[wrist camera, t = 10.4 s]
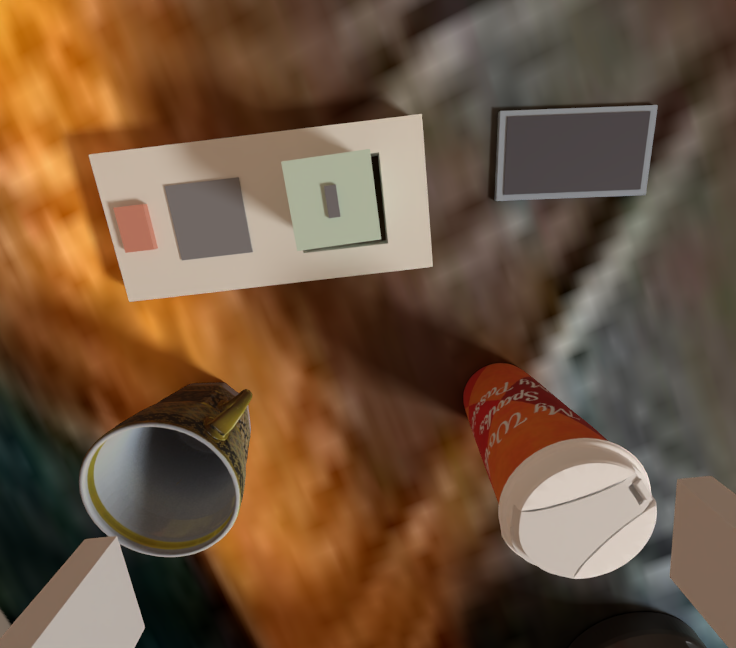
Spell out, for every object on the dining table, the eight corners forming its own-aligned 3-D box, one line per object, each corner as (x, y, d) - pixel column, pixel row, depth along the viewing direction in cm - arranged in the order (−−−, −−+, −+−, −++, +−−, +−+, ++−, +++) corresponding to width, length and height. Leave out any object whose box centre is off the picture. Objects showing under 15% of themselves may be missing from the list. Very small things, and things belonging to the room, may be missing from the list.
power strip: (427, 261, 33) (434, 268, 30) (145, 294, 34) (124, 303, 31) (417, 120, 30) (423, 112, 27) (109, 157, 31) (82, 153, 28)
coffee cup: (513, 330, 35) (621, 423, 20) (563, 403, 37) (694, 536, 22) (428, 387, 36) (473, 513, 22) (481, 455, 38) (554, 612, 24)
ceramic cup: (222, 487, 39) (177, 583, 29) (128, 419, 36) (46, 497, 27) (319, 389, 36) (304, 459, 26) (224, 310, 34) (170, 355, 24)
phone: (637, 195, 33) (646, 194, 32) (492, 200, 33) (496, 200, 31) (648, 108, 31) (658, 104, 30) (495, 113, 31) (500, 110, 30)
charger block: (375, 227, 32) (381, 239, 23) (315, 235, 32) (296, 251, 23) (366, 164, 31) (370, 148, 21) (305, 172, 31) (280, 161, 21)
